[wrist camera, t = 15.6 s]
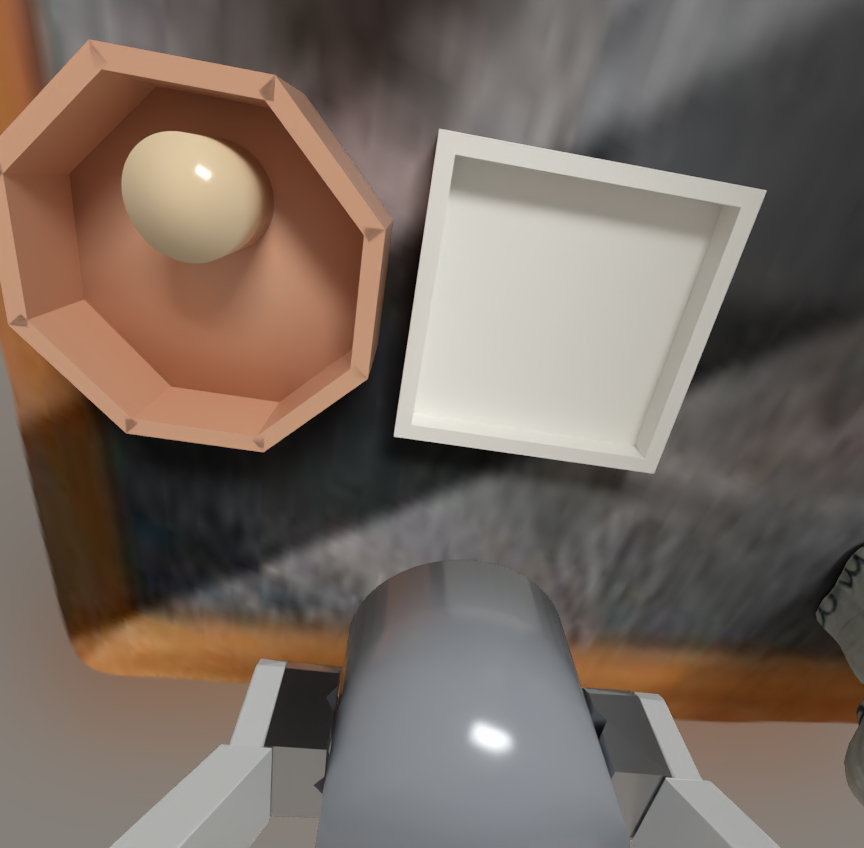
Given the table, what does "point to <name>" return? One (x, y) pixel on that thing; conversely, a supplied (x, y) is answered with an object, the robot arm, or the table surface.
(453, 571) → the slate pebble
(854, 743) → the teapot
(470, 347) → the tray
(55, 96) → the bowl
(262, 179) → the sand pebble
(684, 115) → the table surface
